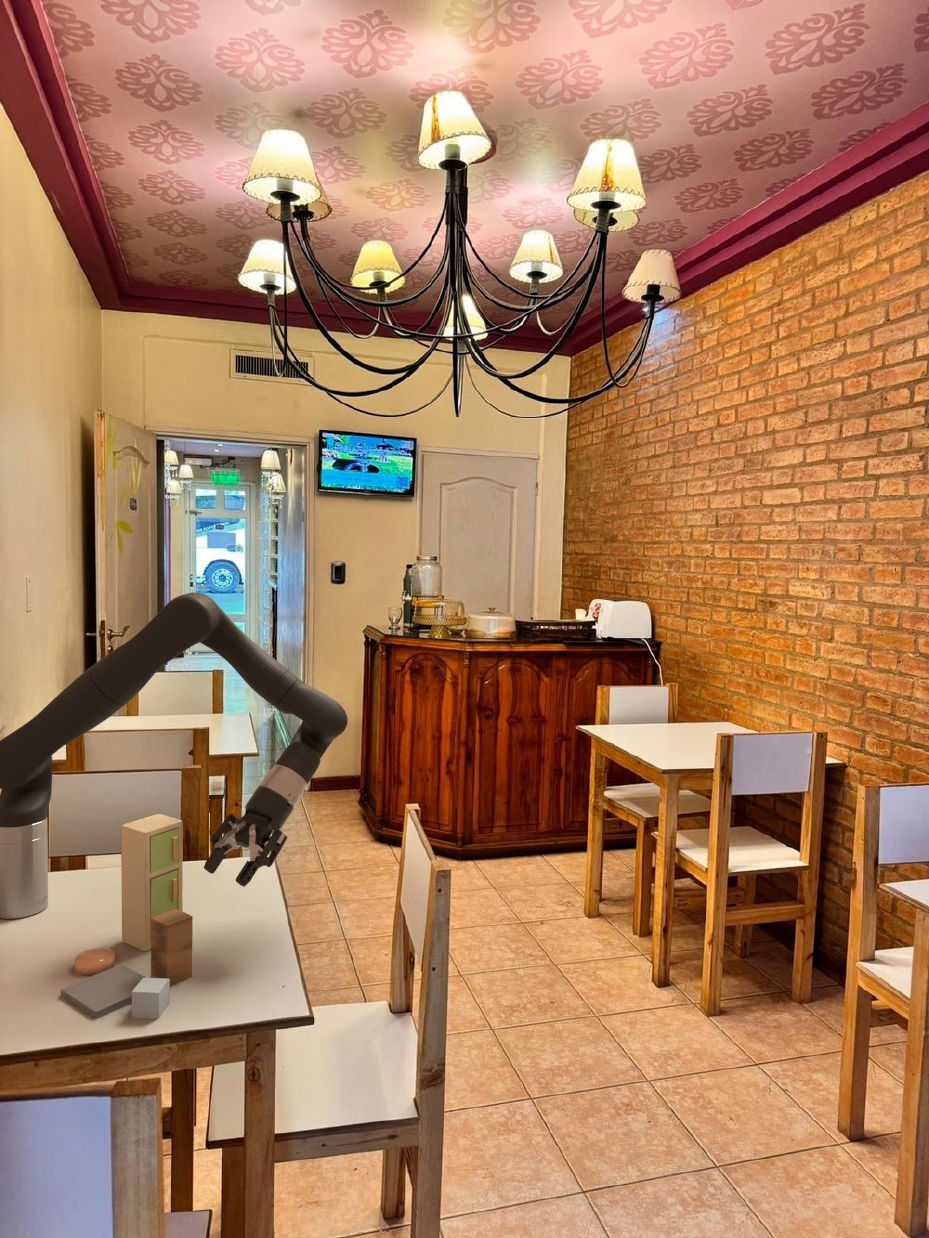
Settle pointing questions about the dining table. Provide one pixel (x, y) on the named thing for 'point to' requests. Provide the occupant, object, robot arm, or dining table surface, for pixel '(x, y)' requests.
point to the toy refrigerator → (150, 874)
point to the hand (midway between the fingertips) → (223, 877)
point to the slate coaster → (103, 990)
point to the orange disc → (94, 961)
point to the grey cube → (150, 998)
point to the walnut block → (171, 946)
